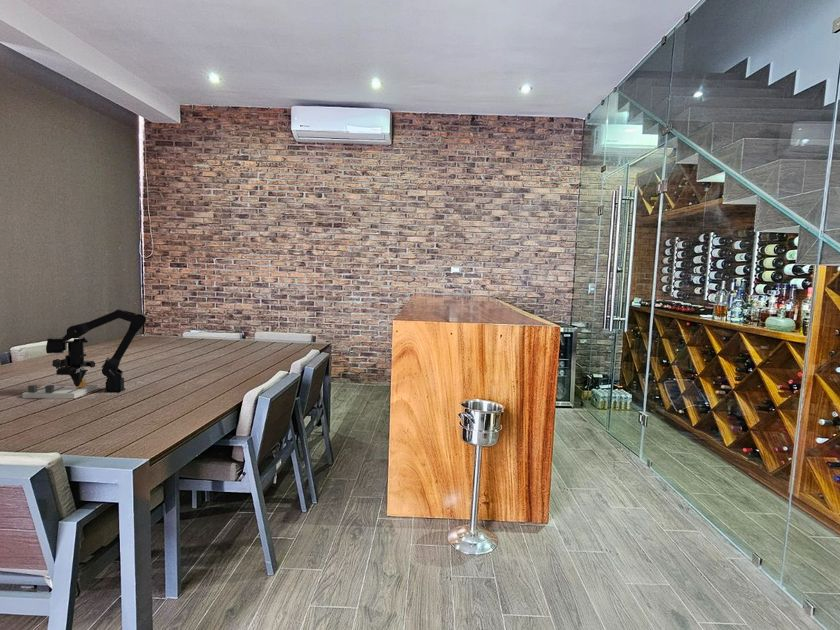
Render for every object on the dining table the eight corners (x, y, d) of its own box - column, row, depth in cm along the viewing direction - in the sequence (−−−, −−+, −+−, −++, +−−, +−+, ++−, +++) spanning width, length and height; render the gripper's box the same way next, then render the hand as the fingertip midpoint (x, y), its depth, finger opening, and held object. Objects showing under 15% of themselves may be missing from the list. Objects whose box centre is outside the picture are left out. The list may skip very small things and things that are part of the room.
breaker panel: (97, 388, 218) (97, 378, 218) (74, 398, 202) (74, 387, 201) (49, 388, 216) (49, 377, 216) (22, 397, 199) (22, 386, 199)
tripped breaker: (85, 386, 213) (85, 378, 212) (82, 387, 211) (82, 379, 210) (78, 386, 212) (78, 378, 212) (75, 387, 210) (75, 379, 210)
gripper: (70, 348, 216) (71, 381, 217) (42, 355, 197) (43, 391, 198) (95, 349, 217) (96, 381, 218) (70, 356, 198) (71, 391, 200)
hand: (77, 386), depth 209 cm, fingers closed
